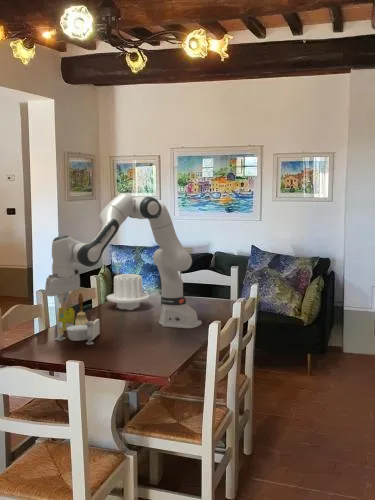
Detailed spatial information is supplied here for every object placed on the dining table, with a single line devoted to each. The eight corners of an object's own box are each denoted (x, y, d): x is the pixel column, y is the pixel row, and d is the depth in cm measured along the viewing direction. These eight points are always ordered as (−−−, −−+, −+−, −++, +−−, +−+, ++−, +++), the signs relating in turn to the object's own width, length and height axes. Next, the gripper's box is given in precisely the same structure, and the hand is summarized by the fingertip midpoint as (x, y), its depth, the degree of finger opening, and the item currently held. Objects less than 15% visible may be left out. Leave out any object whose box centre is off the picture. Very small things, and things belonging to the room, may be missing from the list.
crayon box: (75, 329, 272) (74, 306, 271) (73, 331, 269) (73, 308, 268) (60, 329, 273) (60, 306, 271) (59, 330, 270) (58, 307, 268)
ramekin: (62, 338, 257) (61, 327, 256) (82, 333, 265) (81, 323, 264) (75, 343, 249) (75, 332, 248) (95, 338, 257) (95, 327, 256)
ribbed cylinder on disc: (122, 301, 337) (121, 271, 335) (157, 305, 327) (157, 274, 324) (98, 309, 315) (97, 277, 313) (135, 314, 304) (135, 280, 302)
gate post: (95, 343, 249) (94, 324, 248) (90, 345, 246) (90, 326, 245) (89, 342, 250) (88, 324, 249) (84, 344, 247) (84, 325, 246)
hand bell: (86, 325, 280) (85, 295, 278) (70, 325, 281) (70, 294, 279) (92, 321, 288) (91, 292, 286) (77, 321, 289) (76, 291, 287)
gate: (92, 342, 246) (91, 323, 245) (85, 342, 246) (84, 323, 245) (101, 333, 262) (101, 315, 260) (94, 333, 262) (94, 315, 261)
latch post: (68, 338, 256) (68, 322, 255) (62, 341, 252) (62, 324, 251) (59, 337, 258) (59, 320, 257) (53, 339, 254) (53, 322, 253)
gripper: (52, 276, 233) (53, 307, 235) (82, 269, 251) (82, 299, 253) (41, 275, 236) (42, 306, 237) (71, 268, 254) (71, 297, 256)
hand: (63, 302), depth 245 cm, fingers closed
